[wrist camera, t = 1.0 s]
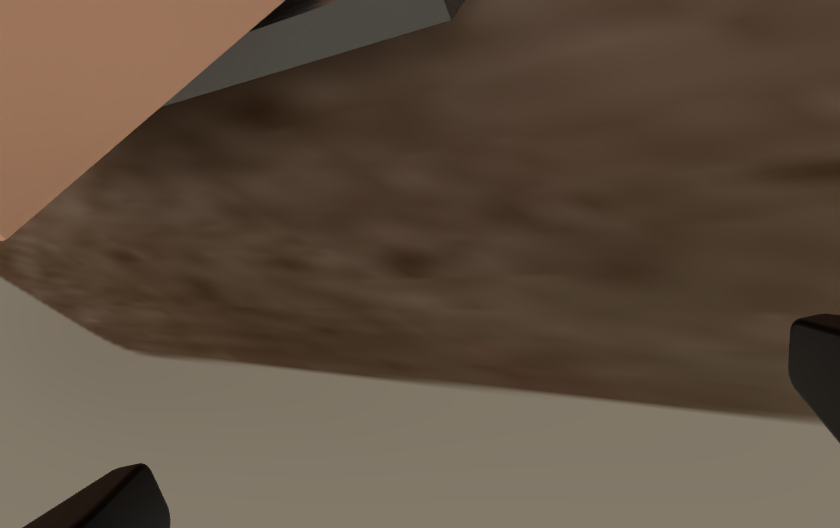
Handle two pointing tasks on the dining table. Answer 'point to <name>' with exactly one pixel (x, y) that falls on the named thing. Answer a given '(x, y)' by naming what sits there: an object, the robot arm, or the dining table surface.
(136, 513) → the robot arm
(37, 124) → the terracotta block
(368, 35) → the chute
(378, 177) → the dining table surface
